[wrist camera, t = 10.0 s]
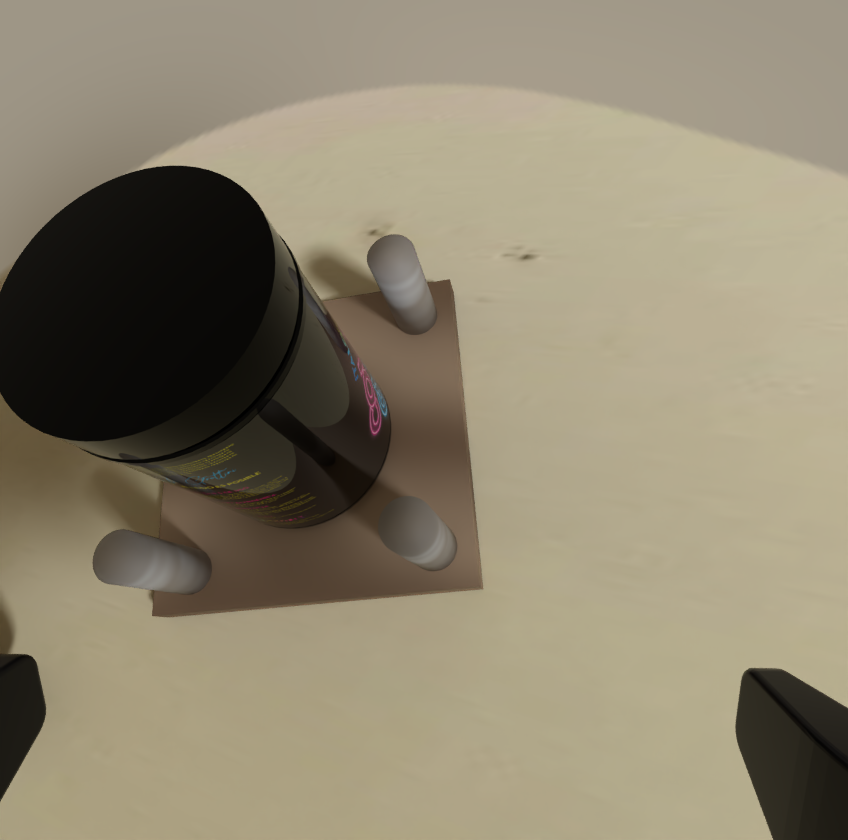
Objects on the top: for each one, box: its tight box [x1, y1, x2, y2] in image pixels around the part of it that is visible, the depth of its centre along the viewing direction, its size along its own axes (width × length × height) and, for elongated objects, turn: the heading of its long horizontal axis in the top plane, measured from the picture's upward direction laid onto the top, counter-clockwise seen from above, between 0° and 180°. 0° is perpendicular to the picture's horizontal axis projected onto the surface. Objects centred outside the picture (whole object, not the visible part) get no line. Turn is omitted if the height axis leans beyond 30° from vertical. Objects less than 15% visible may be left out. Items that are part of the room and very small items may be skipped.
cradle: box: [93, 235, 483, 617], centre depth 21 cm, size 12×12×5 cm
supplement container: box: [0, 166, 392, 529], centre depth 18 cm, size 7×7×10 cm
